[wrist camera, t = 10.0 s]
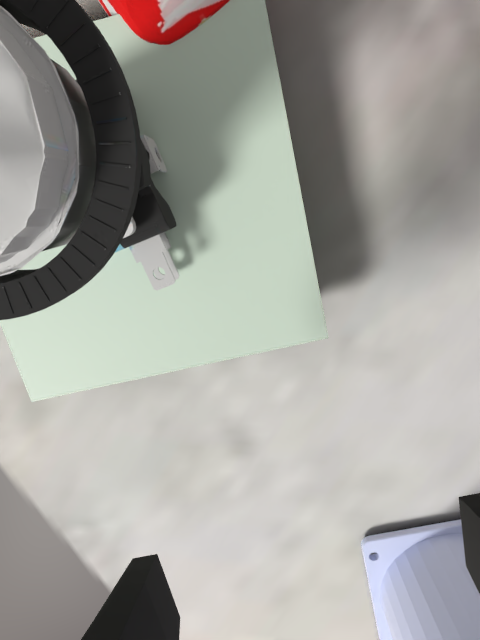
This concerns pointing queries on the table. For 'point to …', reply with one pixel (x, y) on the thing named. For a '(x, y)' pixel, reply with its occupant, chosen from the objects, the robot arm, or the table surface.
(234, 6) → the stand
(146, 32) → the race car
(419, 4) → the table surface
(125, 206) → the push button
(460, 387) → the table surface
